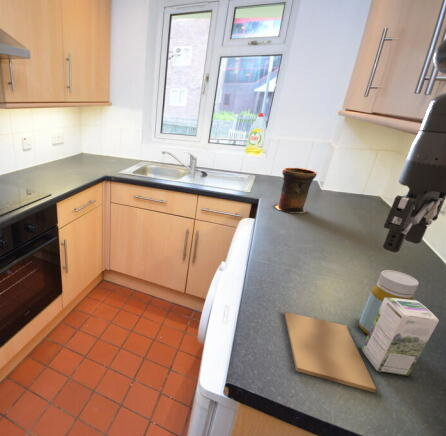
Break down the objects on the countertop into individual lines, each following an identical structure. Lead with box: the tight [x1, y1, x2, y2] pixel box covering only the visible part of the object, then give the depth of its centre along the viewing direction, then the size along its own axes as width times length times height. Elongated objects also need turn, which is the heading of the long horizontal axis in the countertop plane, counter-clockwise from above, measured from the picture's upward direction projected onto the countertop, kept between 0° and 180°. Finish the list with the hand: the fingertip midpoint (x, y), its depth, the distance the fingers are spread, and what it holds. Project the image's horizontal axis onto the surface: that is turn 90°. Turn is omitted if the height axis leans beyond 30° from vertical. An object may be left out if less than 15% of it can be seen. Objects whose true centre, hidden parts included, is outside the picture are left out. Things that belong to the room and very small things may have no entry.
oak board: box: [284, 311, 377, 394], centre depth 65 cm, size 13×18×1 cm
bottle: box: [358, 269, 420, 335], centre depth 67 cm, size 7×7×15 cm
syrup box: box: [361, 297, 440, 376], centre depth 59 cm, size 6×6×14 cm
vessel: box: [275, 167, 318, 214], centre depth 147 cm, size 14×14×20 cm
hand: (401, 246), depth 56 cm, fingers open, 8 cm apart
